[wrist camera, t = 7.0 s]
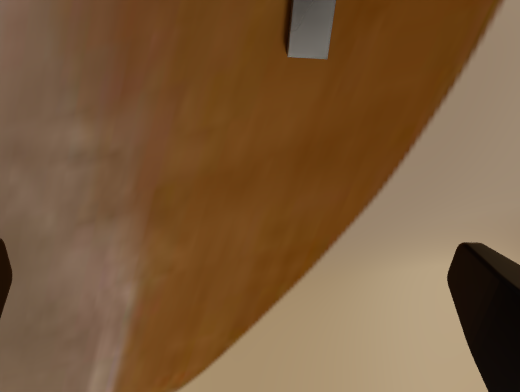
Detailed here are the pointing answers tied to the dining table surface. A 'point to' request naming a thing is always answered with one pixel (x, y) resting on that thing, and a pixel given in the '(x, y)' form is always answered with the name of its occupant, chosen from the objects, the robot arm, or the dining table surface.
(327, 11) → the rail
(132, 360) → the dining table surface
